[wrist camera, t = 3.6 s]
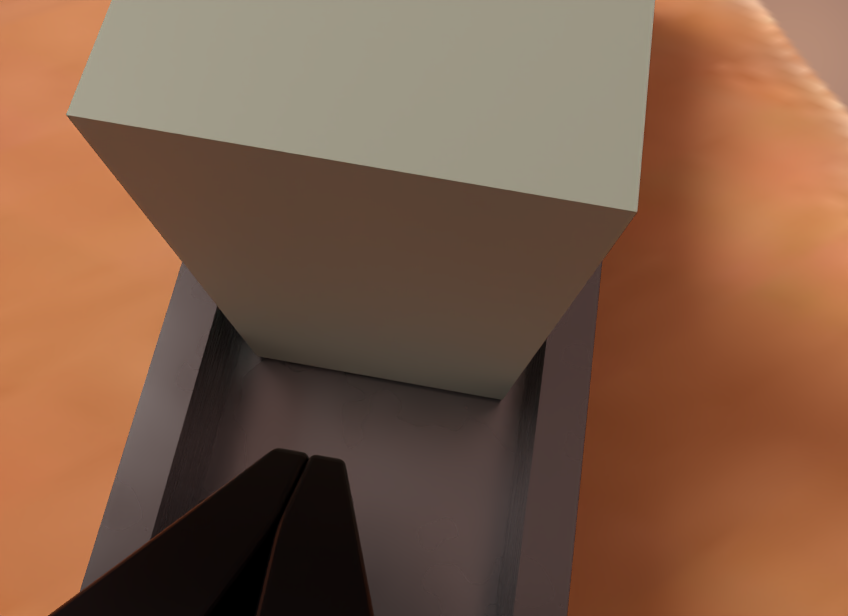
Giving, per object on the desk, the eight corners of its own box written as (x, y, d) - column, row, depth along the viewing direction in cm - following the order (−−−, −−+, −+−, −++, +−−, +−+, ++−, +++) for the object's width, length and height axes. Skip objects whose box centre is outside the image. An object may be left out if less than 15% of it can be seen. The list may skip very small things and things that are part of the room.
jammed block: (502, 399, 17) (636, 211, 7) (257, 356, 17) (65, 115, 7) (528, 213, 18) (667, -144, 9) (304, 175, 18) (198, -216, 9)
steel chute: (520, 923, 14) (557, 1040, 11) (50, 829, 15) (-53, 916, 11) (617, 3, 22) (656, -93, 19) (307, -48, 22) (291, -151, 19)
